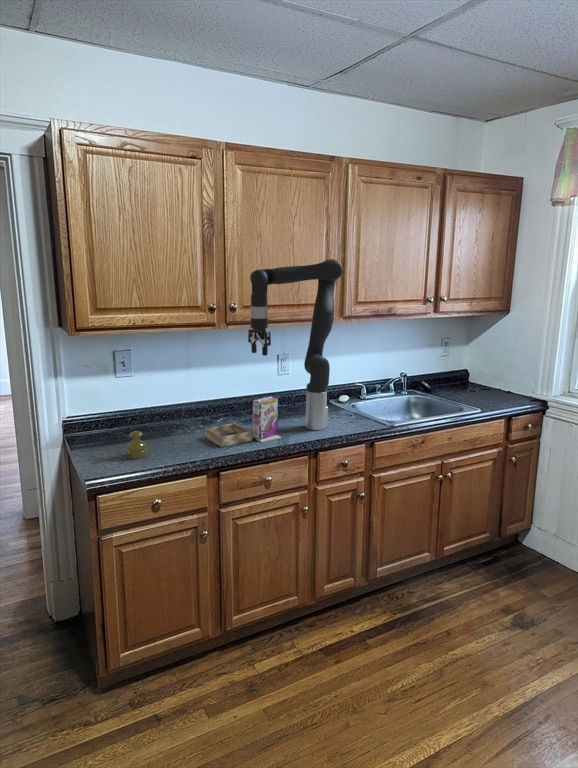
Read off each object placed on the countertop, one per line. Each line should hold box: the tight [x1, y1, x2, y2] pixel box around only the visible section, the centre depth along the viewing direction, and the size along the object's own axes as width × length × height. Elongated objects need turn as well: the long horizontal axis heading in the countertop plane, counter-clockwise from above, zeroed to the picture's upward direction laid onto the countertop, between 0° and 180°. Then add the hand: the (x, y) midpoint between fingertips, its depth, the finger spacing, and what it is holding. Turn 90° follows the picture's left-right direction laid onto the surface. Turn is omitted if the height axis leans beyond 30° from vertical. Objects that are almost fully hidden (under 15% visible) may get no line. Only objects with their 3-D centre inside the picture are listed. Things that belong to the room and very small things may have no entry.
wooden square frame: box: [204, 422, 253, 448], centre depth 224 cm, size 15×15×4 cm
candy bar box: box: [251, 395, 279, 440], centre depth 225 cm, size 11×5×16 cm, turn 139°
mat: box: [252, 434, 282, 443], centre depth 227 cm, size 10×10×1 cm
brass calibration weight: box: [126, 430, 148, 460], centre depth 203 cm, size 7×7×10 cm
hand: (259, 354), depth 231 cm, fingers open, 8 cm apart
